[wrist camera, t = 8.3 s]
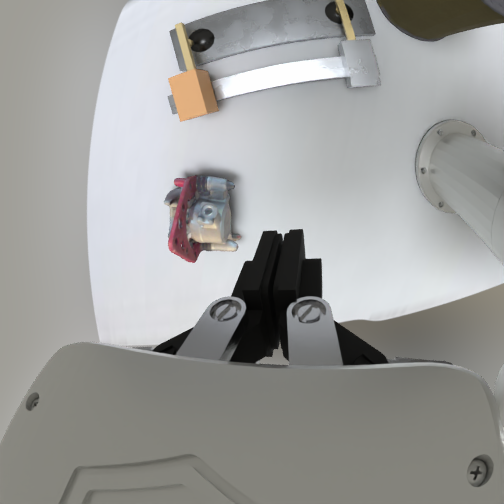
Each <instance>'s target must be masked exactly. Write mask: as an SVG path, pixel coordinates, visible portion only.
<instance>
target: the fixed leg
mask: <svg viewBox="0 0 504 504" xmlns="http://www.w3.org/2000/svg"><path fill="white" fill-rule="evenodd" d="M334 1H335V4H336V6H337V7H336V10H335V13H336V14H337V15H340V18H341V22H342V25H343V28H344V31H345V35H346V38H347V40H343V41H340V43H339V44H338V50H339V54H340V58H341V62H342V66H343V70H344V74H345V78H346V83H347V88H351V87H366V86H379V85H381V83H380V78H379V73H378V68H377V64H376V60H375V56H374V52H373V48H372V44H371V40H370V39H366V40H356V38H355V35H354V31H353V28H352V25H351V21H350V18H349V15H348V12H347V9H346V6H345V3H344V1H343V0H334Z"/></svg>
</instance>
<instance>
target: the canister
mask: <svg viewBox="0 0 504 504" xmlns="http://www.w3.org/2000/svg"><path fill="white" fill-rule="evenodd" d="M377 3H378V4H379V6H380V8H381V10H382V12H383V13H384V15H385V16H386V17H387V19H388V20H389V21H390V22H391V23H392V24H393V25H394V26H396V27H397V28H398V29H399V30H401V31H402V32H403V33H405V34H407V35H409V36H411V37H413V38H416V39H419V40H422V41H437V40H440V39H442V38H444V37H446V36H448V35H452V34H455V33H459V32H463V31H467V30H471V29H475V28H480V27H484V26H489V25H494V24H500V23H504V0H377Z"/></svg>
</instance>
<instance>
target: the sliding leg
mask: <svg viewBox="0 0 504 504" xmlns="http://www.w3.org/2000/svg"><path fill="white" fill-rule="evenodd" d="M175 28H176V31H177V35H178V39H179V42H180V46H181V50H182V53H183V57H184V61H185V64H186V68H187V72H184V73H181V74H179V75H176V76H173V77H171V78H168V80H169V83H170V87H171V90H172V94H173V98H174V101H175V105H176V108H177V112H178V115H179V118H180V122H181V121H185V120H189V119H192V118H196V117H199V116H203V115H206V114H209V113H213V112H216V111H219V110H218V106H217V102H216V99H215V95H214V92H213V88H212V84H211V81H210V77H209V73H208V71H205V70H200V69H196V65H195V62H194V58H193V55H192V51H191V46H193V44H194V42H193V41H192V40H190V39H188V36H187V33H186V29H185V25H184V24H183V23H179V24H176V25H175Z"/></svg>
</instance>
